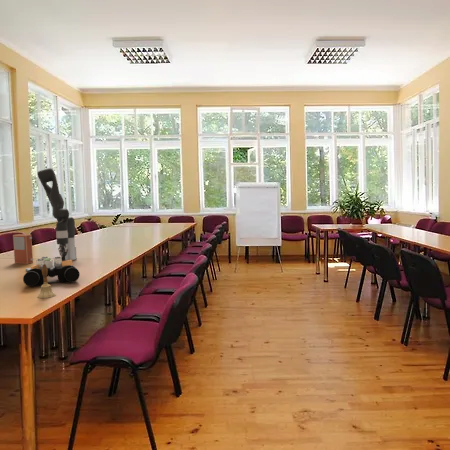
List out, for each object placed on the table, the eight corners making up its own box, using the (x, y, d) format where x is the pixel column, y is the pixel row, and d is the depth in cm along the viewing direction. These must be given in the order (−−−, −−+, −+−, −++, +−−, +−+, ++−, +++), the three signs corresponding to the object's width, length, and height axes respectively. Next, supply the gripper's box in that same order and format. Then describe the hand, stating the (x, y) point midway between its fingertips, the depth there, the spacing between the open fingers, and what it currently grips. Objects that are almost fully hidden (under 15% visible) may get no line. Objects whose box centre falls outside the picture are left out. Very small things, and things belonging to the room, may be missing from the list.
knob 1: (40, 268, 270) (39, 258, 270) (46, 268, 269) (46, 258, 269) (28, 271, 258) (27, 261, 258) (35, 271, 257) (34, 261, 257)
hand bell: (33, 297, 198) (31, 265, 197) (46, 293, 206) (44, 262, 204) (46, 298, 195) (44, 266, 194) (59, 294, 203) (57, 263, 202)
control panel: (19, 261, 311) (35, 262, 306) (12, 263, 304) (27, 264, 299) (17, 234, 309) (33, 234, 304) (10, 235, 303) (26, 235, 298)
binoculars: (23, 289, 216) (22, 270, 216) (25, 284, 235) (24, 267, 235) (80, 282, 228) (79, 265, 228) (77, 279, 246) (76, 262, 246)
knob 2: (55, 267, 271) (55, 257, 270) (53, 266, 275) (52, 257, 274) (73, 265, 279) (72, 255, 278) (70, 264, 282) (70, 255, 282)
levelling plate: (62, 265, 288) (61, 254, 287) (70, 268, 275) (69, 257, 274) (25, 270, 272) (24, 258, 272) (33, 274, 259) (32, 261, 259)
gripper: (71, 237, 279) (72, 262, 280) (64, 236, 289) (65, 260, 290) (59, 238, 274) (61, 263, 276) (53, 237, 284) (55, 261, 286)
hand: (63, 261), depth 283 cm, fingers closed
